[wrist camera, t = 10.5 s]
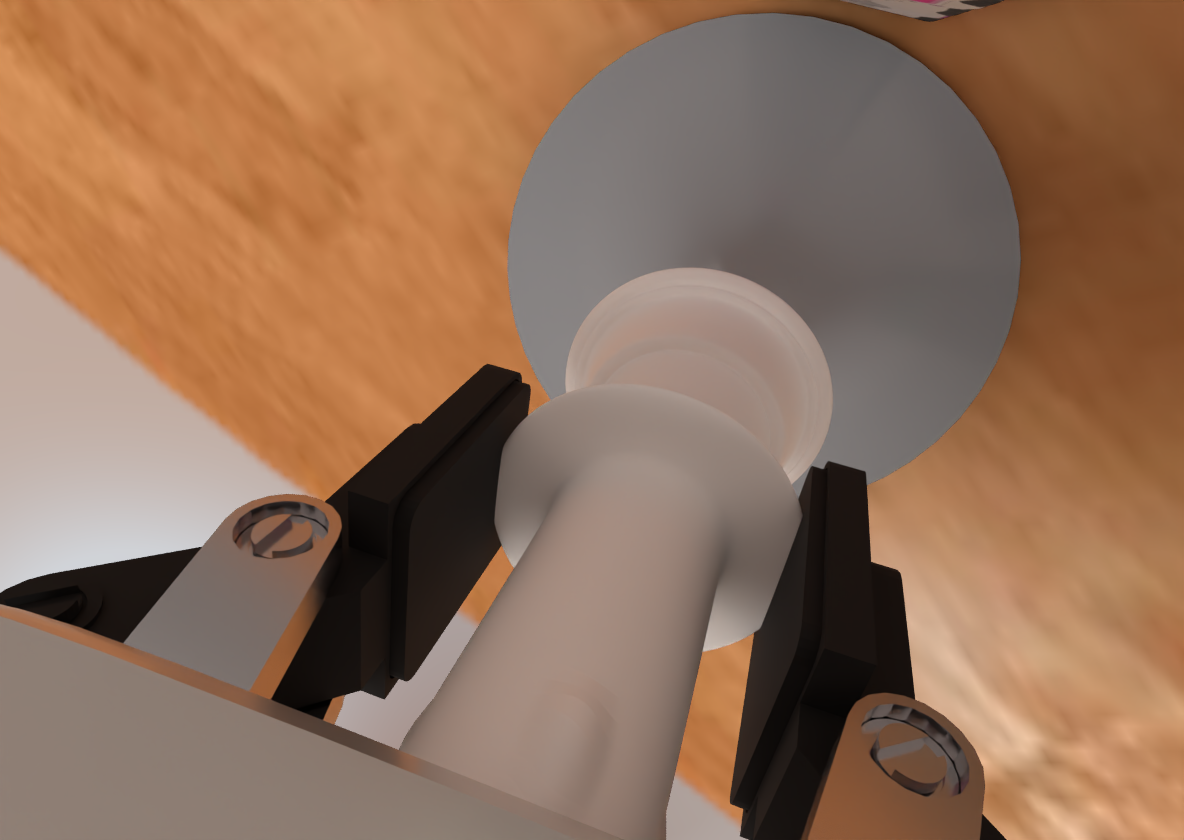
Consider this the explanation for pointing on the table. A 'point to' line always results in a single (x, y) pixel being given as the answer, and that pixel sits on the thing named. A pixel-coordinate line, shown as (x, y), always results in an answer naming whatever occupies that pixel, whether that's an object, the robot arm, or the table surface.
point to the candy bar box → (925, 7)
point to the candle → (634, 545)
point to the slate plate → (784, 214)
